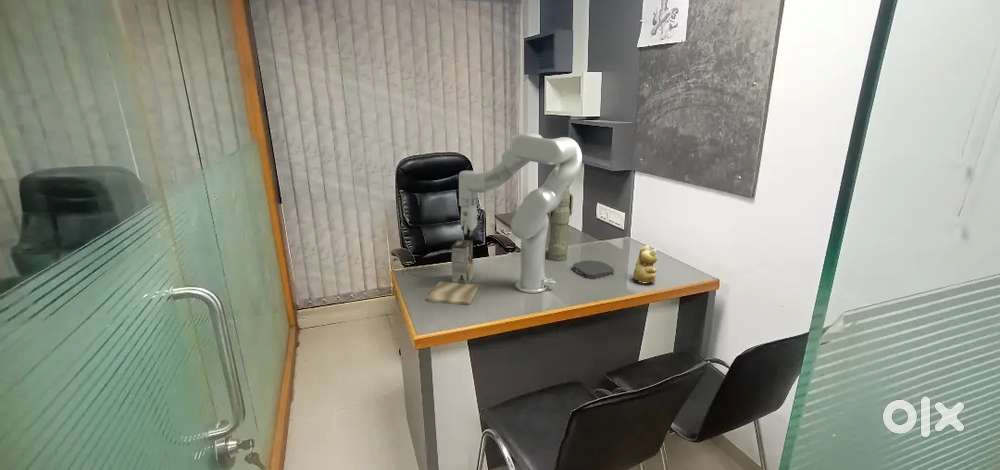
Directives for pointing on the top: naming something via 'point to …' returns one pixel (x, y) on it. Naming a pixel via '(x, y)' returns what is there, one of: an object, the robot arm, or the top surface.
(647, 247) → the decorative figurine
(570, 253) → the top surface
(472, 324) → the top surface
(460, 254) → the coffee box
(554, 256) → the thermos
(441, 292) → the board
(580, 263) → the media streaming box
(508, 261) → the top surface
